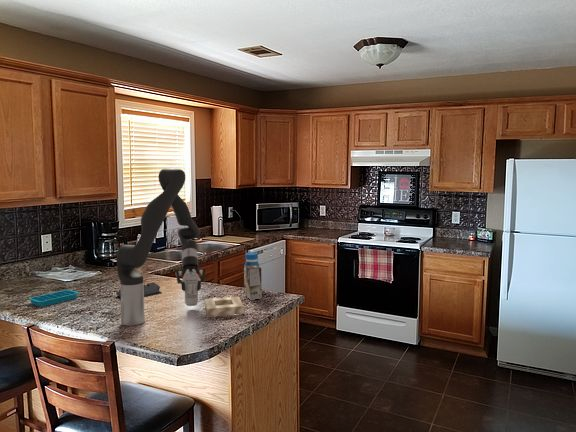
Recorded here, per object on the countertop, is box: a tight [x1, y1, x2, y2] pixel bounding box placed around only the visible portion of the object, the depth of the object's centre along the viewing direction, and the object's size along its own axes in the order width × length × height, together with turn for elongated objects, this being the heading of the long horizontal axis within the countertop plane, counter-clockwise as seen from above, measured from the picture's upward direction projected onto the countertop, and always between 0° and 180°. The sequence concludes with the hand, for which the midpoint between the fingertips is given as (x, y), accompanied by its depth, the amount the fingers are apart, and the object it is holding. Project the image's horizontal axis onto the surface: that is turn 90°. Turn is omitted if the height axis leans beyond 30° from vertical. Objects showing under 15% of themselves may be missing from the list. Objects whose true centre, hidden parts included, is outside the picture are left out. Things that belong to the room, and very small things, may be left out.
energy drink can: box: [183, 272, 199, 307], centre depth 208 cm, size 6×6×15 cm
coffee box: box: [244, 265, 263, 301], centre depth 228 cm, size 9×6×16 cm
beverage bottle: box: [243, 251, 260, 291], centre depth 243 cm, size 8×8×20 cm
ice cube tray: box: [28, 289, 80, 307], centre depth 225 cm, size 12×20×3 cm, turn 145°
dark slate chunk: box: [115, 281, 163, 299], centre depth 236 cm, size 15×22×5 cm
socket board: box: [204, 296, 245, 318], centre depth 207 cm, size 16×16×4 cm
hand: (191, 289), depth 207 cm, fingers closed on energy drink can, 6 cm apart
